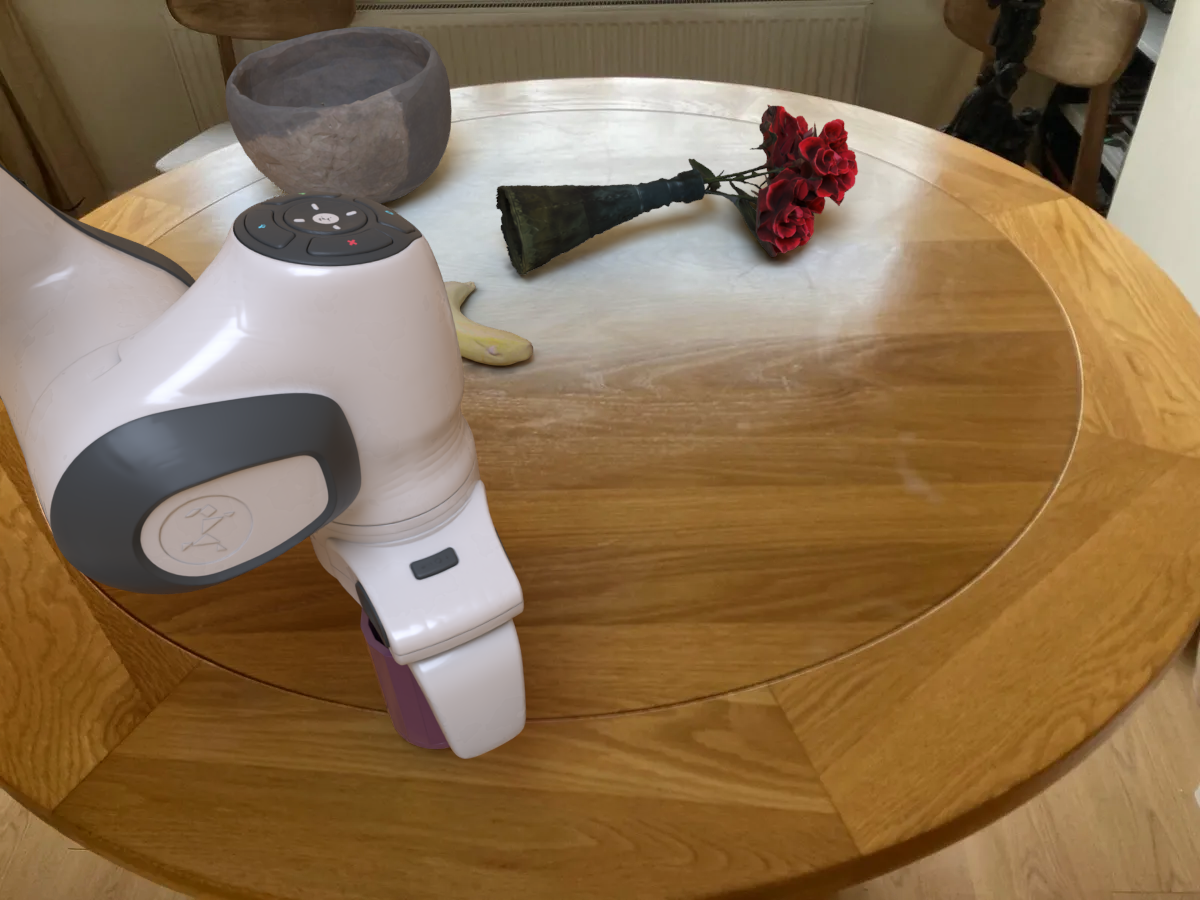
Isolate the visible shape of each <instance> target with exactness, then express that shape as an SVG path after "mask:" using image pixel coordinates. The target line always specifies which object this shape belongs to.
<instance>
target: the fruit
mask: <svg viewBox="0 0 1200 900" xmlns="http://www.w3.org/2000/svg"><path fill="white" fill-rule="evenodd" d="M444 285H445V288H446V291H447V295H448V299H449V302H450V306H451V310H452V314H453V319H454V323H455V327H456V332H457V337H458V342H459V347H460V353H461V357H462V358H465V359H468V360H471V361H474V362H477V363H480V364H485V365H490V366H509V365H513V364H516V363H519V362H523V361H527V360H528V359H530V357H531V356H532V355H533V353H534V346H533V343H532V342H531V341H530V340H529V339H527V338H524V337H522V336H520V335H518V334H515V333H514V332H511V331H507V330H504V329H499V328H494V327H490V326H486V325H483V324H481V323H478V322H476V321H474V320H472V319H470V318H468V317H467V316H465V315H464V314H463V313H462V312H461V306H462V305H463V303H464V302H465V300H466V299H467V297H468V296H470V294H471V293H472V292H474V291H475V290H476V288H477V286H476V283H475V281H466V282H461V281H454V280H451V281H450V280H449V281H444Z"/></svg>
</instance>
